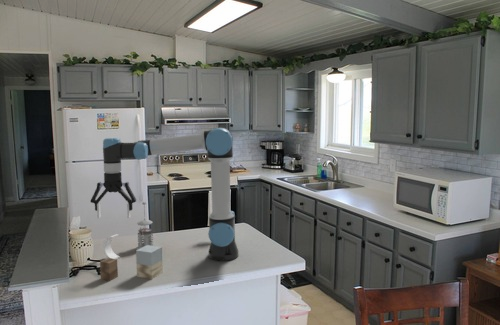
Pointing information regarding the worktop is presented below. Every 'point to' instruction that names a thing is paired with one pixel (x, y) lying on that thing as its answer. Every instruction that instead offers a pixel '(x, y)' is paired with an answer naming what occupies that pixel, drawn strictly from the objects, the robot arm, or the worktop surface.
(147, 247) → the grey block
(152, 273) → the beech block
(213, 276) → the worktop surface
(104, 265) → the walnut block
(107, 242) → the white curved piece
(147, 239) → the french press
